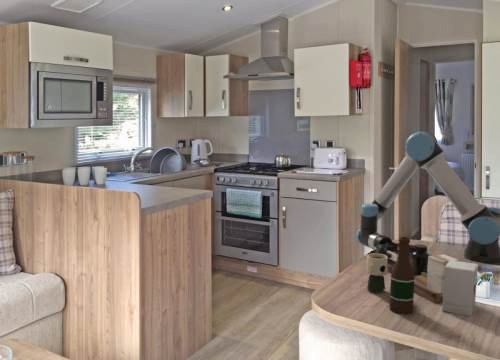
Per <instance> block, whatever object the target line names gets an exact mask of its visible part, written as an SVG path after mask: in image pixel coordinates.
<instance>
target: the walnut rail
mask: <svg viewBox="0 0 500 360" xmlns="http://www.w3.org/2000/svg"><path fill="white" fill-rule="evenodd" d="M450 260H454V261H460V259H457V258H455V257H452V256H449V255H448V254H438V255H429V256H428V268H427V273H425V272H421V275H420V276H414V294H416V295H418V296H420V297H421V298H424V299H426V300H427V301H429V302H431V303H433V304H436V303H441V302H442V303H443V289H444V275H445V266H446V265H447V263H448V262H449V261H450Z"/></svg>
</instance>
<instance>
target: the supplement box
mask: <svg viewBox="0 0 500 360" xmlns="http://www.w3.org/2000/svg"><path fill="white" fill-rule="evenodd" d="M478 268H479V264H478V263H473V262H472V263H471V262H464V261H460V260H459V261H454V260H450V261H449V262H448V263H447V265H446V266H445V275H444V289H443V302H442V307H441V308H442V309H441V311H443V312H447V313H451V314H455V315H456V314H458V315H461V316H462V315H463V316H467V317H472V316H473V312H474V310H475V308H476V297H477V296H476V295H477V294H476V293H477V281H478Z"/></svg>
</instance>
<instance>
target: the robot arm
mask: <svg viewBox="0 0 500 360" xmlns="http://www.w3.org/2000/svg"><path fill="white" fill-rule="evenodd" d="M404 147H405V148H404V149H405V156H404V157H403V159H402V161H401V162H400V163H399V164H398V165H397V167H396V168H395V170H394V172H393V173H392V174H391V176H390V178H389V179H388V180H387V181H386V183H385V184H384V186H383V187H382V188H381V190H380V191H379V192H378V193H377V195H376V197H375V198H374V199H373V201H372V202H371V203H363V204H362V205H361V207H360V209H361V210H360V228H359V229H357V232H356V233H355V239H356V241H357V242H358V243H359V244H361V245H363V246H364V247H367V248H370V249H372V250H374V252H375V253H377V254H383V255H386V256H387V257H388V259H389V260H392V261H393V262H395V263H396V262H397V258H398V251H399V242H398V243H396V242H393V240H392V239H391V238H390V237H388V236H386V235H384V234H382V233H378V221H379V220H380V219H382V218H383V217H384V215H385V214H386V212H387V210H388V209H389V208H390V206H391V205H392V204H393V202H394V201H395V199H396V198H397V197H398V195H399V194H400V192H402V190H403V189H404V187H405V186H406V185H407V183H408V182H409V181H410V179H411V178H412V176H413V175H414V174H415V173H416V171H417V169H418V168H420V169H424V170H426V172H427V173H428V174H429V175H430V177H431V178H432V180H433V182H435V183H436V184H437V186H438V187H439V188H440V190H441V191H442V193H443V194H444V195H445V196H446V198H447V199H448V200H449V202H450V203H451V204H452V206H453V207H454V208H455V209H456V211H457V213H458V214H459V215H460V222H461V223H462V225H463V226H464V227H465V229H466V230H467V232H468V235H469V239H468V242H467V244H466V248H464V251H463V256H464V258H465V259H467V260H470V261H473V262H477V263H478V262H479V263H487V264H488V263H489V264H494V263H496V264H497V263H500V241H499V238H500V208H499V207H493V206H486V204H481V203H480V202H479V201H478V200H477V198H476V197H475V196H474V195H473V194H472V193H471V191H470V190H469V188H468V187H467V186H466V185H465V183H464V182H463V181H462V180H461V178H460V177H459V176H458V174H457V173H456V172H455V170H454V169H453V168H452V166H450V164H449V163H448V161H447V160H446V159H445V158H444V154H445V152H444V150H443V148H441V146H440V144H439V143H438V139H437V137H436V136H435V135H434V134H433V133H432V132H429V131H428V130H427V131H426V130H424V131H423V130H422V131H416V132H414V133H412V134H411V135H409V137H408V138H407V139H406V142H405V145H404ZM414 245H415V244H414ZM414 245H412V244H409V254H412V252H414V251H415V250H414ZM396 253H397V254H396Z"/></svg>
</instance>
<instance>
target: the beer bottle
mask: <svg viewBox="0 0 500 360" xmlns="http://www.w3.org/2000/svg"><path fill="white" fill-rule="evenodd" d="M410 243H411V239H410V237H407V236H400V237H399V238H398V244H399V247H398V250H399V251H398V252H397V255H398V258H397V262H396V261H395V263H394V264H393V265H392V268H391V273H390V285H389V286H390V288H389V310H390V311H391V312H393V313H396V314H401V315H408V314H412V313H413V311H414V310H413V309H414V295H415V293H414V269H413V266H412V265H411V258H410V253H409V245H410Z"/></svg>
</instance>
